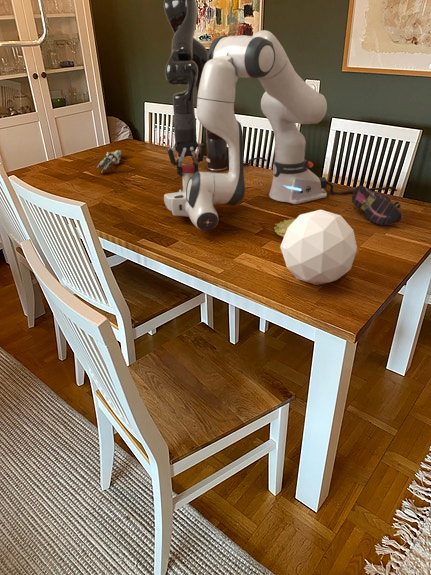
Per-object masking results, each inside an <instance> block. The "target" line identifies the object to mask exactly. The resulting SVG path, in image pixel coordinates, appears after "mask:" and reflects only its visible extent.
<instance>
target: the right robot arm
mask: <svg viewBox="0 0 431 575" xmlns="http://www.w3.org/2000/svg"><path fill="white" fill-rule="evenodd" d="M207 52H208V61H207V62H206V64H205V65H204V68H203V71H202V75H201V79H200V84H199V90H198V93H197V98H196V118H197V120H198V121H199V123H200V125H202V127H203V128H204V129H205V130H206V129H207V130H209V131H211V132H212V133H214V134H216V135H218V136H220V137H221V138H223V139H224V140H225V141H226V142H227V147H228V148H229V168H228V172H227V173H222V172H213V171H199V170H198V171H197V172H196V173H194V174H193V175H192V176H191V177H190V179H189V180H188V183H187V187H186V191H185V192H184V190H183V189H179V190H178V191H177V192H170V193H169V192H168V193H165V194H163V203H164V206H165V207H166V209H167V210H168V211H170V212H171V214H172V216H174V217H187V218H189V220H190V221H191V223H192V224H193V225H194V227H195V228H196V229H198V230H200V231H202V232H203V231H204V232H208V231H211V230H213V229H215V228H216V227H217V226H218V224H219V214H218V212H217V210H216V208H215V206H214V205H218V204H219V205H221V204H222V205H226V206H236V205H238V204H239V203H241V202H242V201H243V199H244V198H245V195H246V194H245V193H246V184H245V173H244V165H243V163H244V135H243V127H242V123H241V122H240V121H239V120H238V119H237V117H236V114H235V100H236V87H237V81H238V79H239V78H252V79H258V81H259V83H260V84H261V87H262V88H263V89H264V92H263V94H262V97H261V99H260V109H261V112H262V114H263V115H264V116H265V117H266V119H267V120H268V122H269V124H270V126H271V129H272V131H273V136H274V159H273V164H272V182H271V187H270V190H269V193H268V196H269V198H270V199H271V200H274V201H277V202H283V203H289V204H293V205H298V204H303V203H307V202H311V201H312V202H313V201H316V200H320V199H324V198H327V196H328V193H327V191H326V190H325V189H327V188H328V186H330V189H329V192H330V194H332V195H347V194H353V192H354V190H355V189H352V190H345V191H340V192H335V191H334V185H333V184H332V183H331V182H329V181H328V180H327V178H326V176H319V177H318V176H317V175H316V174H315V173H314V172H313V171H311V170H310V169H311V168H313V166H314V162H312V161H310V160H308V159H306V158H305V156H306V143H307V142H306V138H305V136H304V134H302V133H301V131H299V129H298V126H297V124H299V125H317V124H319V123H320V122H322V120H323V119H324V118H325V116H326V113H327V111H328V103H327V99H326V97H325V95H324V94H323V93H320V92H318V91H316V90H315V89H314V88H312V87H311V86H310V85H309V84H308V83H307V82H306V81H305V80H304V79H302V77H301V76H300V75H299V74H298V73H297V72H296V70H295V69H294V66H293V65H292V63H291V61H290V59H289V57H288V54H287V53H286V51H285V49H284V47H283V45H282V44H281V42H280V41H279V39H278V38H277V37H276V36H275V35H274V34H273V33H272V32H271V31H269V30H265V29H263V30H259V31H256V32H255V33H254V34H252V35H244V34H240V35H222V36H218V37H216V38H214V39H213V41H212V42H211V44H210V46H209V47H208V50H207ZM309 168H310V169H309ZM366 188H367V187H366ZM367 189H368V190H371V191H384V190H393V191H394V192H398V189H397V188H396V187H394V186H384V187H369V188H367Z"/></svg>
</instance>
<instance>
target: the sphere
mask: <svg viewBox="0 0 431 575" xmlns="http://www.w3.org/2000/svg"><path fill="white" fill-rule="evenodd" d="M294 219H295V220H294V222H293V223H292V224H291V225H290V226H289V227H288V228H287V231H286V233H285V235H284V237H282V238H283V239H282V241H281V243H280V246H279V248H280V251H281V253H282V257H283V260H284V262H285V266H286V268H287V270H289V272H290V273H291V274H292V275H293V277H294V278H295V279H296V280H299V281H302V282H306V283H309V284H312V285H315V286H318V285H323V284H328V283H332V282H335V281H338V280H339V279H340V278H342V276H345V274H346V273H348V272H350V270H351V269H352V266H353V263H354V260H355V258H356V255H357V251H358V246H357V240H356V235H355V230H354V229H353V228H352V227H351V225H349V223H348V222H347V221H346V220H345V219H344V217H343V216H342V215H340V214H338V213H334V212H331V211H327V210H324V209H318V210H313V211H309V212H306V213H301V214H299V215H298V216H297V217H296V218H294Z"/></svg>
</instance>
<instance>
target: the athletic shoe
mask: <svg viewBox="0 0 431 575" xmlns="http://www.w3.org/2000/svg"><path fill="white" fill-rule="evenodd" d="M353 190H354V192H353V193H352V195H351V202H352V204H353V205H354V206H355V207H357V208H358V209H361V210H362V211H363V213H364V215H365V218H367V219H368V220H369V222H371V223H373V224H376V225H381V226H384V225H385V226H389V225H394V224H397V223H399V222H400V221H402V216H403V215H402V212H401V211H400V209H401V203H400V202H399V201H396V202H392V200H391V199H390V197H388V196H387V195H386V194H383V193H381V192H378V191H377V192H376V191H375V190H368V189H367V187H366V186H364V185H357V186H356V187H355V188H354V189H353Z"/></svg>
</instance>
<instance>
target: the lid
mask: <svg viewBox="0 0 431 575" xmlns="http://www.w3.org/2000/svg"><path fill="white" fill-rule="evenodd" d="M181 166H182V173H193V172H194V171H195V167H194V165H193V164H189V163H188V164H187V163H186V164H182V165H181Z"/></svg>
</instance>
